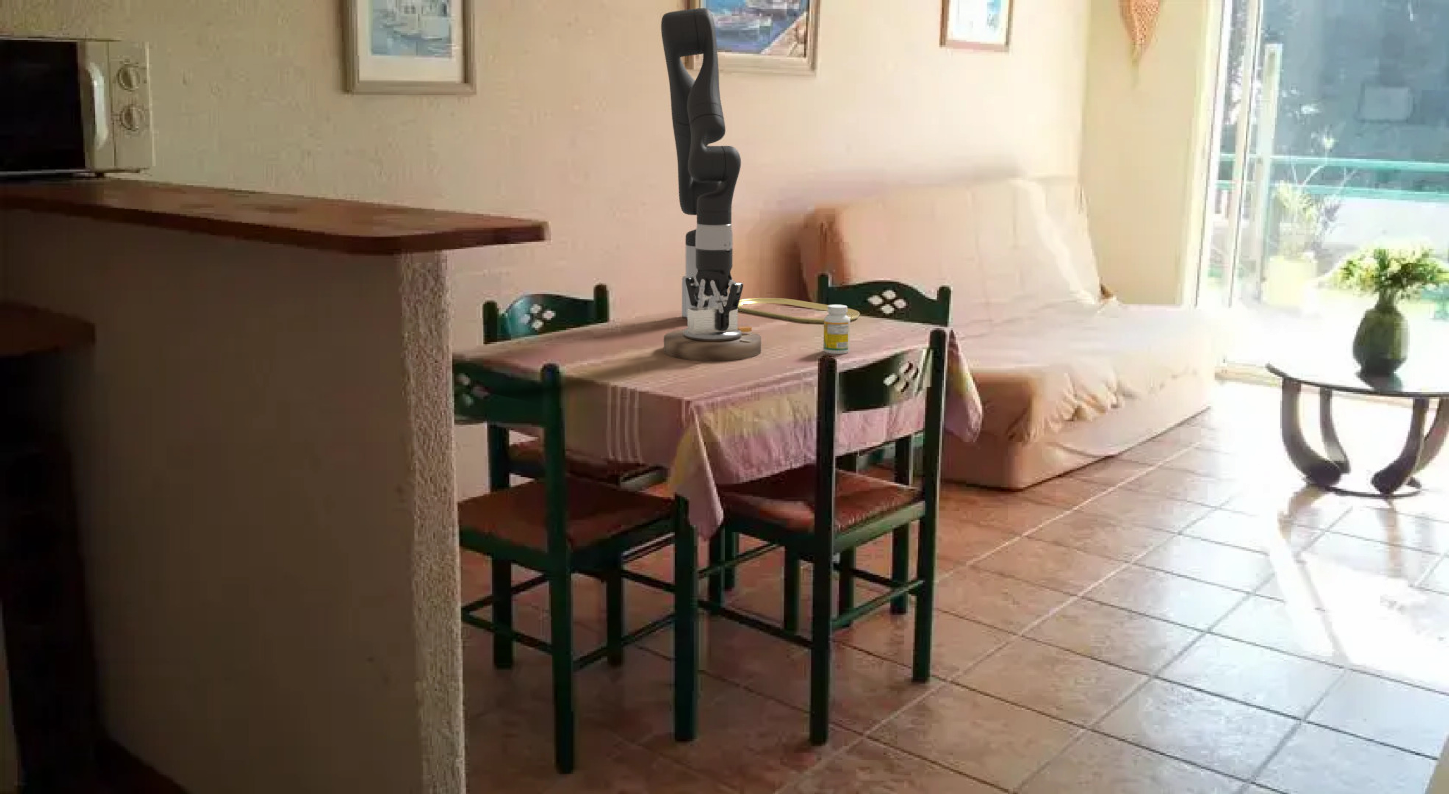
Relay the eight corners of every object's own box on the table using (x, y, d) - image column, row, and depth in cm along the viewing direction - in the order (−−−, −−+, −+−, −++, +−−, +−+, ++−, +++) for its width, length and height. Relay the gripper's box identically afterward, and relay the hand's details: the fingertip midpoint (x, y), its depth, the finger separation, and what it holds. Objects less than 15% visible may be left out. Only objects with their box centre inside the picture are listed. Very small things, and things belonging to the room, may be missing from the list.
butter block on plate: (699, 343, 257) (699, 314, 256) (673, 333, 268) (673, 305, 266) (763, 337, 264) (764, 309, 263) (736, 327, 274) (736, 300, 273)
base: (644, 352, 264) (643, 336, 264) (704, 338, 280) (704, 323, 279) (720, 365, 252) (720, 348, 252) (779, 349, 268) (780, 334, 267)
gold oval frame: (769, 301, 332) (769, 295, 331) (875, 319, 307) (875, 312, 307) (716, 309, 319) (717, 303, 318) (823, 328, 295) (823, 321, 294)
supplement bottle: (844, 355, 263) (845, 308, 261) (819, 353, 265) (820, 306, 263) (852, 350, 268) (854, 305, 266) (828, 348, 270) (829, 303, 268)
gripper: (675, 244, 263) (675, 327, 267) (729, 250, 254) (729, 336, 258) (699, 241, 268) (699, 322, 272) (753, 247, 260) (752, 330, 264)
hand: (713, 328), depth 265 cm, fingers closed on butter block on plate, 4 cm apart
